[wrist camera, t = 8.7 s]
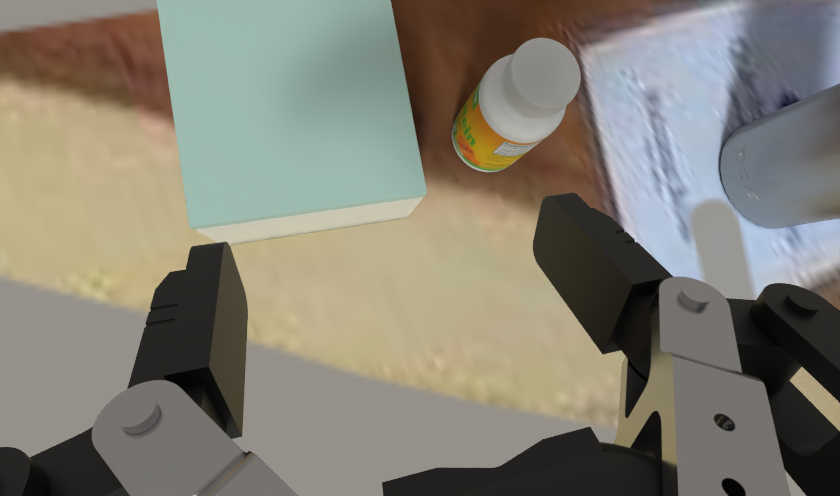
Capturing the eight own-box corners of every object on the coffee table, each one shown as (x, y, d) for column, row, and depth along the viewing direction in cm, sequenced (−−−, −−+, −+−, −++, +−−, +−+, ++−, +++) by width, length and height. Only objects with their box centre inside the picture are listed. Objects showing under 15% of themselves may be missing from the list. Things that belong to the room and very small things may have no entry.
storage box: (375, 56, 32) (385, 1, 26) (406, 218, 31) (423, 198, 25) (198, 69, 29) (165, 11, 24) (224, 245, 28) (196, 230, 23)
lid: (386, -4, 26) (388, -14, 25) (424, 196, 25) (427, 193, 24) (162, 5, 23) (156, -5, 22) (194, 229, 22) (189, 227, 21)
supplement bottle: (446, 104, 33) (493, 22, 23) (515, 103, 34) (586, 25, 24) (454, 175, 32) (504, 121, 23) (523, 172, 33) (599, 120, 24)
